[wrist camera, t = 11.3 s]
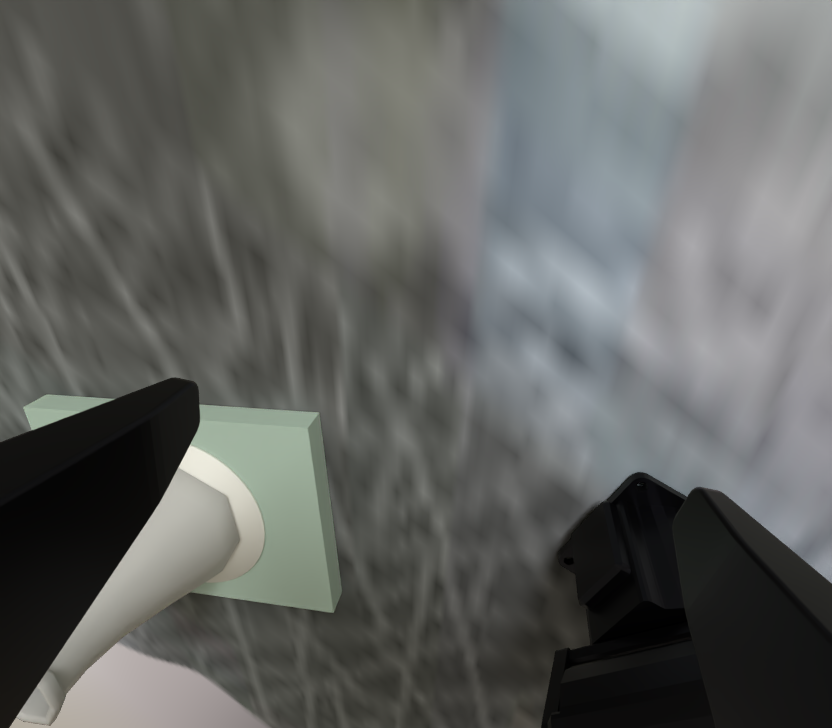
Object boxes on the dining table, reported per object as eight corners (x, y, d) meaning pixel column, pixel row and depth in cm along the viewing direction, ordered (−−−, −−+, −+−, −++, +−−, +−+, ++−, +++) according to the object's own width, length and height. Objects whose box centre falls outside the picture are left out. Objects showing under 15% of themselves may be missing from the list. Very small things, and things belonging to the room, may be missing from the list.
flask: (239, 583, 29) (111, 782, 20) (123, 545, 30) (-51, 722, 21) (246, 483, 26) (97, 666, 17) (116, 444, 27) (-92, 601, 18)
